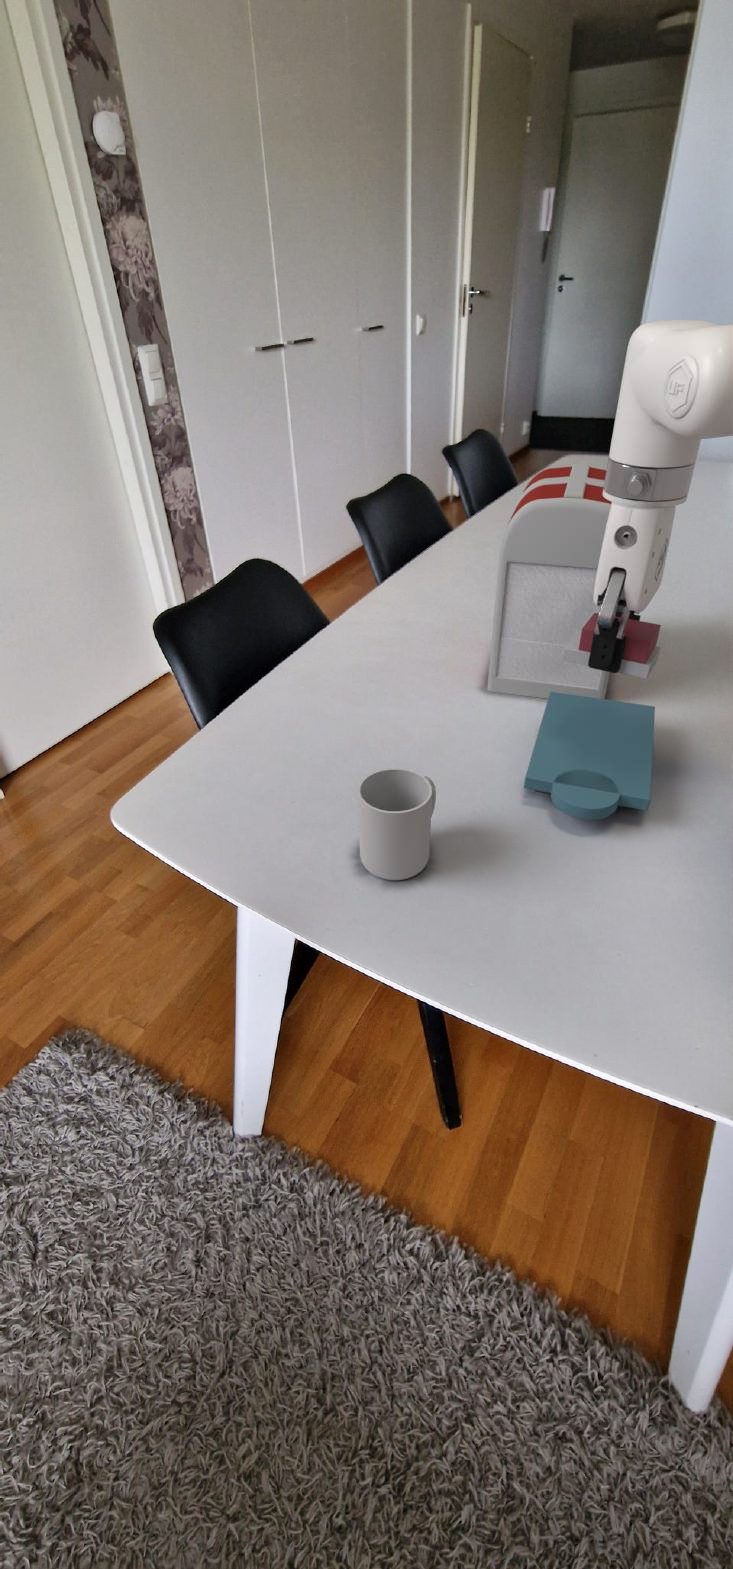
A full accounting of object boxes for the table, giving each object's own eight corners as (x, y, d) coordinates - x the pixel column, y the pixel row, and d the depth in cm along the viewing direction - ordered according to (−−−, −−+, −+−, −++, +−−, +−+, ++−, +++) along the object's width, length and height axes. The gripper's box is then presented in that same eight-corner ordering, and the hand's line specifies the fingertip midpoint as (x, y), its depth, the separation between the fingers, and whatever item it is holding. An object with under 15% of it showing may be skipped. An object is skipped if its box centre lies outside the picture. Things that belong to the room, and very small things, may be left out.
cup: (345, 861, 73) (341, 793, 67) (405, 813, 79) (406, 747, 73) (400, 893, 69) (400, 823, 64) (458, 840, 75) (463, 773, 70)
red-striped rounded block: (484, 691, 100) (502, 493, 84) (502, 639, 114) (520, 460, 98) (605, 706, 96) (647, 501, 80) (608, 650, 110) (645, 465, 94)
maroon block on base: (657, 659, 76) (666, 625, 73) (647, 679, 72) (655, 643, 70) (575, 642, 80) (581, 609, 77) (561, 660, 76) (567, 626, 74)
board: (546, 717, 94) (550, 691, 92) (648, 733, 91) (655, 706, 88) (515, 824, 77) (519, 796, 74) (640, 849, 73) (649, 820, 71)
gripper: (670, 509, 58) (625, 701, 69) (706, 464, 69) (663, 635, 80) (579, 498, 61) (551, 684, 72) (629, 457, 72) (598, 622, 83)
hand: (611, 656), depth 76 cm, fingers closed on maroon block on base, 5 cm apart
